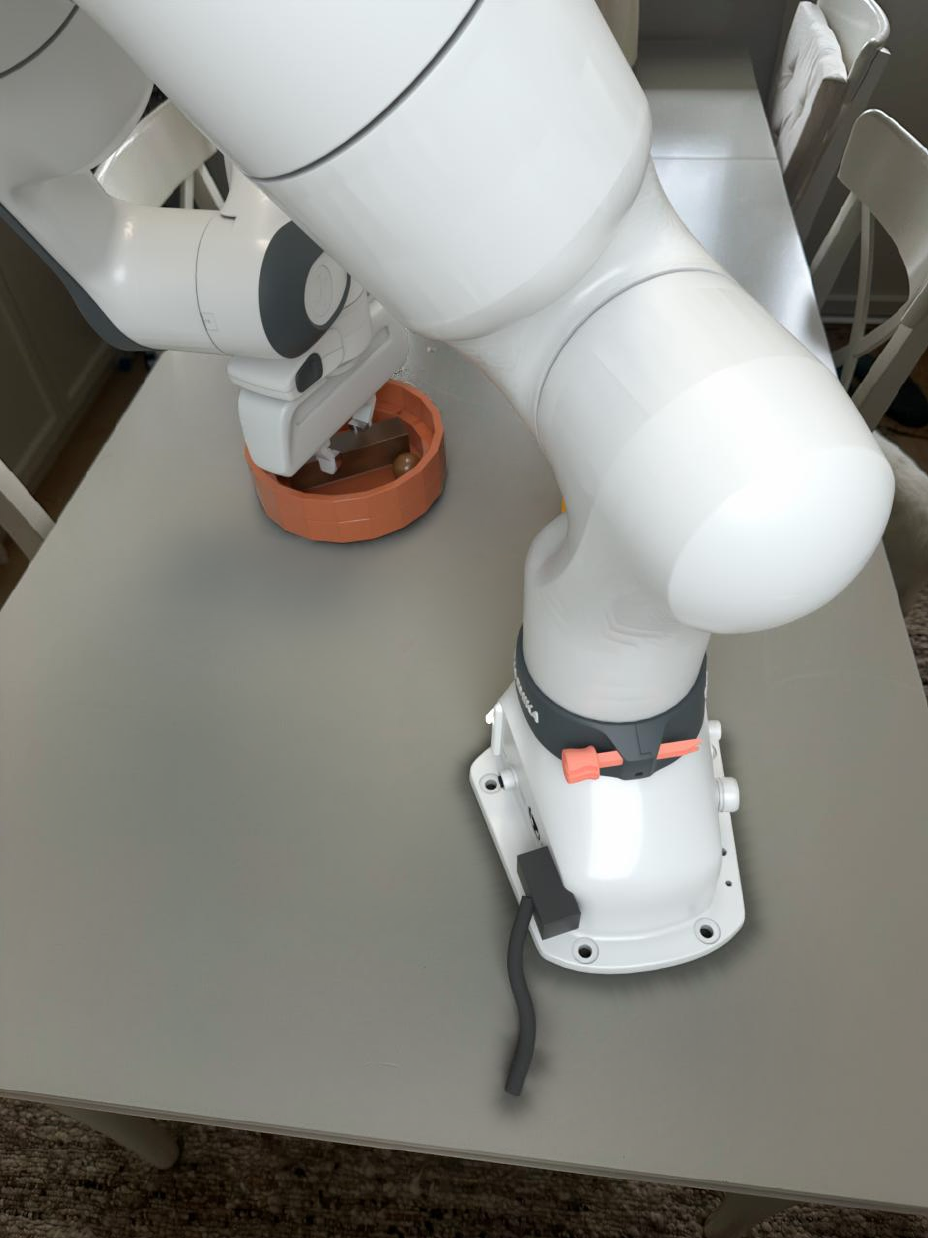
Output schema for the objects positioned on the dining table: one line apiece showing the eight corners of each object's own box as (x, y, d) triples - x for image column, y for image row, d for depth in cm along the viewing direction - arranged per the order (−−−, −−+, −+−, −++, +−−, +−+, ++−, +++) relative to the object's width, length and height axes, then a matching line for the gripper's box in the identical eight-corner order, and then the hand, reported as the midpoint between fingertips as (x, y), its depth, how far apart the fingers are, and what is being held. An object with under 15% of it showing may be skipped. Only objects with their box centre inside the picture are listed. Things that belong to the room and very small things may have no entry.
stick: (292, 493, 82) (286, 468, 80) (285, 474, 84) (278, 450, 81) (411, 458, 84) (408, 433, 82) (401, 440, 86) (398, 416, 84)
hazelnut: (419, 484, 85) (432, 475, 83) (393, 490, 84) (405, 480, 81) (410, 455, 85) (423, 445, 83) (383, 461, 84) (395, 450, 81)
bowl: (458, 534, 81) (455, 485, 76) (258, 560, 79) (243, 513, 75) (434, 412, 92) (430, 364, 88) (259, 433, 91) (246, 386, 87)
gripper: (357, 256, 79) (379, 385, 89) (211, 377, 68) (256, 507, 79) (415, 270, 77) (431, 400, 87) (274, 397, 66) (311, 528, 76)
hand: (347, 452), depth 83 cm, fingers closed on stick, 4 cm apart
